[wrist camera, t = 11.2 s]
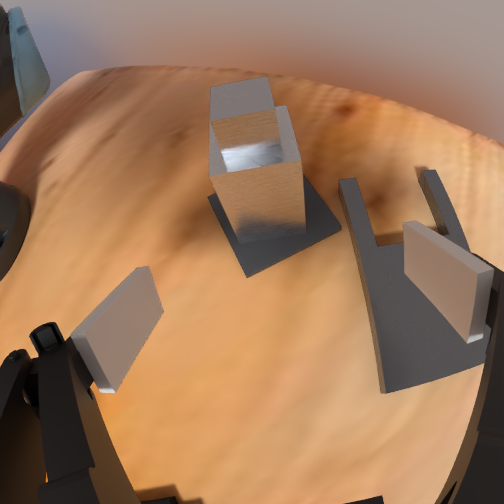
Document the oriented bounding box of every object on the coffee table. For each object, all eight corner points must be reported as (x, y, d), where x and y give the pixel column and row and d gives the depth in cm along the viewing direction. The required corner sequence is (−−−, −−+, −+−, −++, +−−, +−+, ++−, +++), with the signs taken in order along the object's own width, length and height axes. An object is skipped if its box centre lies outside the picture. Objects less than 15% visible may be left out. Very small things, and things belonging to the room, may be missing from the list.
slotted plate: (488, 360, 16) (497, 357, 15) (380, 393, 17) (385, 393, 16) (431, 179, 23) (435, 169, 22) (337, 190, 25) (338, 179, 23)
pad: (209, 201, 26) (207, 197, 26) (290, 162, 27) (290, 158, 26) (247, 278, 23) (245, 275, 22) (340, 229, 23) (341, 226, 22)
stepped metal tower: (306, 233, 23) (297, 117, 13) (239, 243, 23) (191, 137, 14) (295, 180, 25) (280, 66, 15) (236, 191, 26) (195, 83, 16)
